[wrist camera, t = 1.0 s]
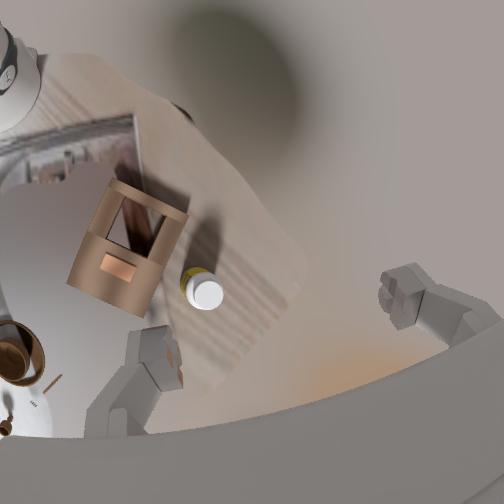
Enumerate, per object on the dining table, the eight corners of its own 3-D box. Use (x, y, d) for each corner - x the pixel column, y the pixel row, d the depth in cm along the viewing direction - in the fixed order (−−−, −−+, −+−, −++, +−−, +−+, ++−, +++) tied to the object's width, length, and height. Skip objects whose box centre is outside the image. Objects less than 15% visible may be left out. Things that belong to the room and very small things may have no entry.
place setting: (72, 369, 45) (66, 384, 40) (16, 425, 41) (8, 442, 35) (3, 292, 40) (-11, 300, 35) (-47, 359, 36) (-60, 370, 30)
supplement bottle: (179, 266, 50) (190, 274, 41) (212, 266, 52) (229, 275, 43) (179, 299, 51) (189, 315, 41) (211, 299, 52) (228, 314, 43)
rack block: (70, 280, 44) (65, 283, 41) (113, 180, 45) (112, 177, 42) (142, 313, 49) (143, 318, 45) (186, 216, 50) (189, 215, 47)
